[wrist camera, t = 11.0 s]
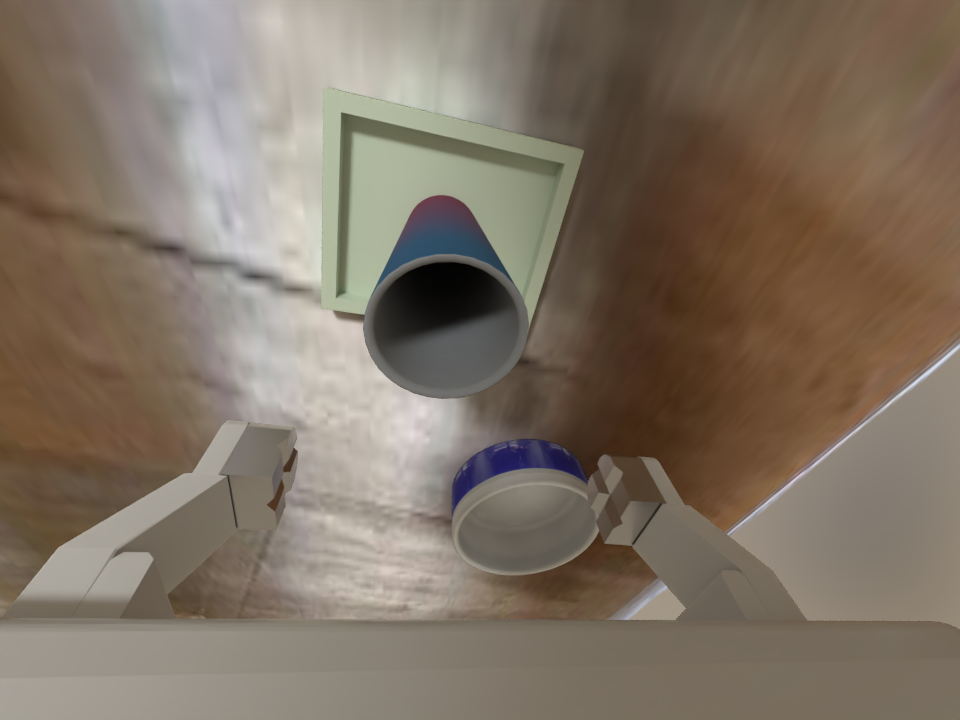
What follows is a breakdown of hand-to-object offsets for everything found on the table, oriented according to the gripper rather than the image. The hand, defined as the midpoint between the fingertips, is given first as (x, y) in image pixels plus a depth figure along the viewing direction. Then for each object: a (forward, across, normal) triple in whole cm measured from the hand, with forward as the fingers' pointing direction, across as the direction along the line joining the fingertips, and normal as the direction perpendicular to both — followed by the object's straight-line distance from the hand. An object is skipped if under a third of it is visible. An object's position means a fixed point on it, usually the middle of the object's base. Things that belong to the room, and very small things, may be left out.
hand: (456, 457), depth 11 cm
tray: (+23, 0, 0) cm, 23 cm away
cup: (+22, 0, +1) cm, 22 cm away
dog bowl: (+23, -13, +28) cm, 38 cm away
